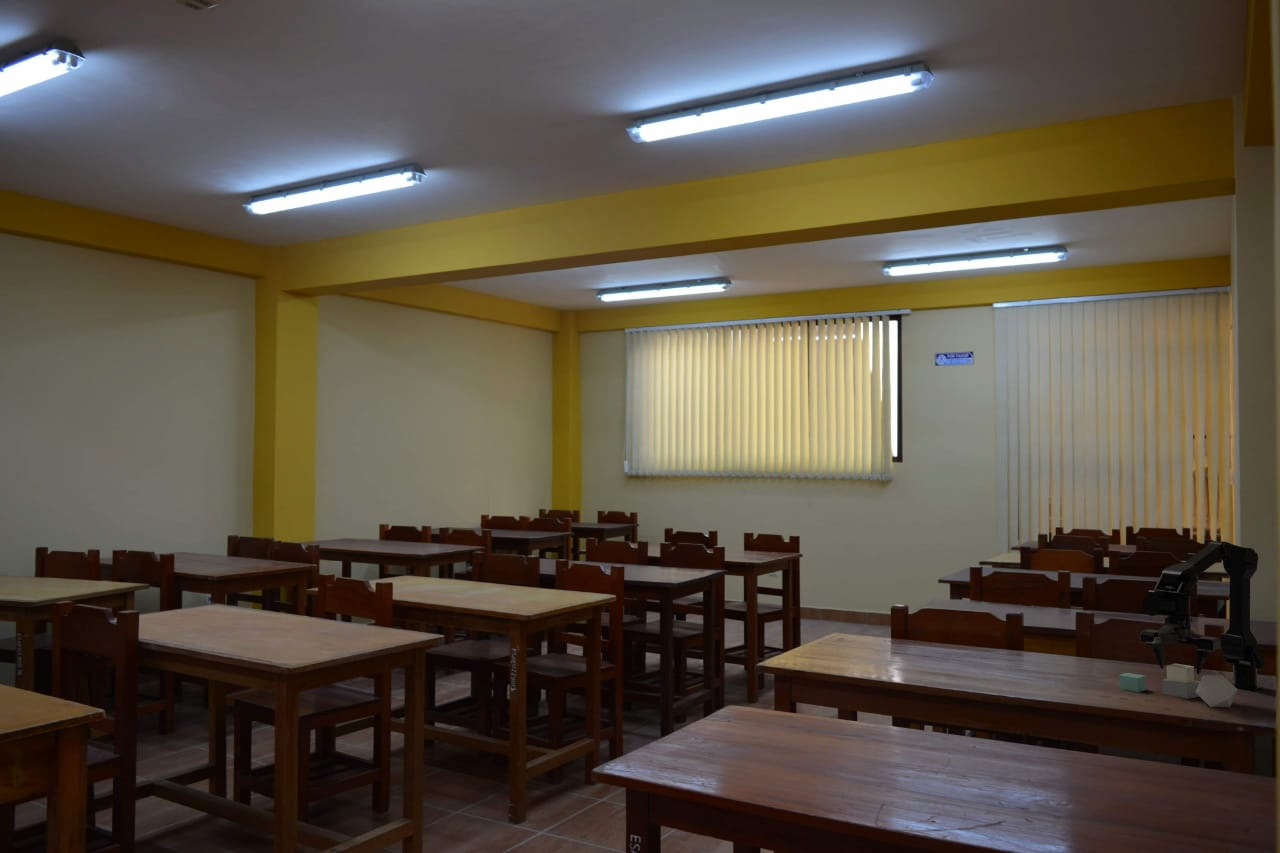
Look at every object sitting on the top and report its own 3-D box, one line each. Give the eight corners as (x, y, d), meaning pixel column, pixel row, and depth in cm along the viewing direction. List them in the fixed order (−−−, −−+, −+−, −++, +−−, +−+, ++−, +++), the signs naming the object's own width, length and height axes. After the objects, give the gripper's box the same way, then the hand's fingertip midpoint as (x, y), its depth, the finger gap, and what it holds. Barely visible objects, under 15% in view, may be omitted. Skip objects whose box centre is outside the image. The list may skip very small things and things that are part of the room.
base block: (1177, 691, 259) (1177, 677, 259) (1202, 696, 253) (1202, 682, 253) (1162, 694, 256) (1161, 679, 256) (1187, 699, 249) (1187, 684, 250)
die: (1236, 714, 236) (1247, 681, 239) (1203, 696, 237) (1214, 663, 241) (1217, 718, 243) (1228, 686, 247) (1185, 700, 245) (1197, 668, 248)
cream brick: (1174, 677, 258) (1174, 663, 258) (1193, 681, 254) (1193, 666, 254) (1166, 680, 255) (1166, 665, 255) (1186, 683, 251) (1186, 668, 251)
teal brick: (1127, 686, 264) (1126, 672, 264) (1145, 690, 260) (1145, 675, 260) (1119, 689, 260) (1119, 675, 261) (1138, 692, 257) (1137, 678, 257)
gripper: (1130, 612, 257) (1131, 669, 257) (1204, 621, 243) (1206, 681, 242) (1147, 609, 264) (1149, 664, 264) (1220, 617, 250) (1222, 675, 249)
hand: (1180, 671), depth 254 cm, fingers open, 9 cm apart
